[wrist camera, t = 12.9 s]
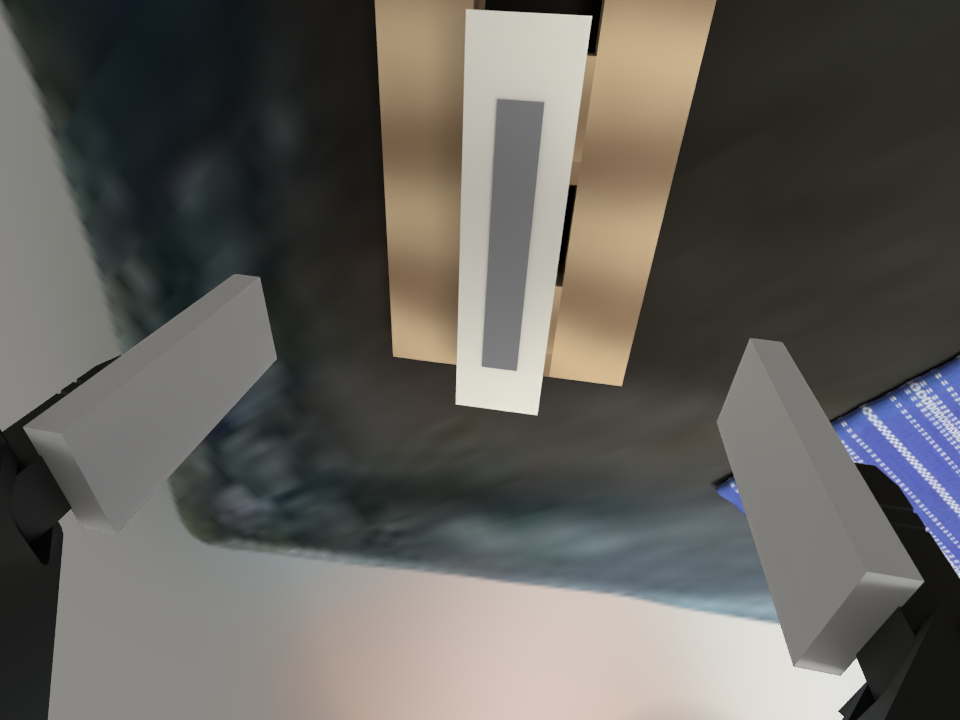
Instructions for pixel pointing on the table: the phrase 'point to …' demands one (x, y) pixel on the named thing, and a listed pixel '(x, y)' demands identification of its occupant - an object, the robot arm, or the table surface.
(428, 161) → the board
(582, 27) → the strip
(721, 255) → the table surface
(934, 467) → the dish towel
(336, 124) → the table surface
